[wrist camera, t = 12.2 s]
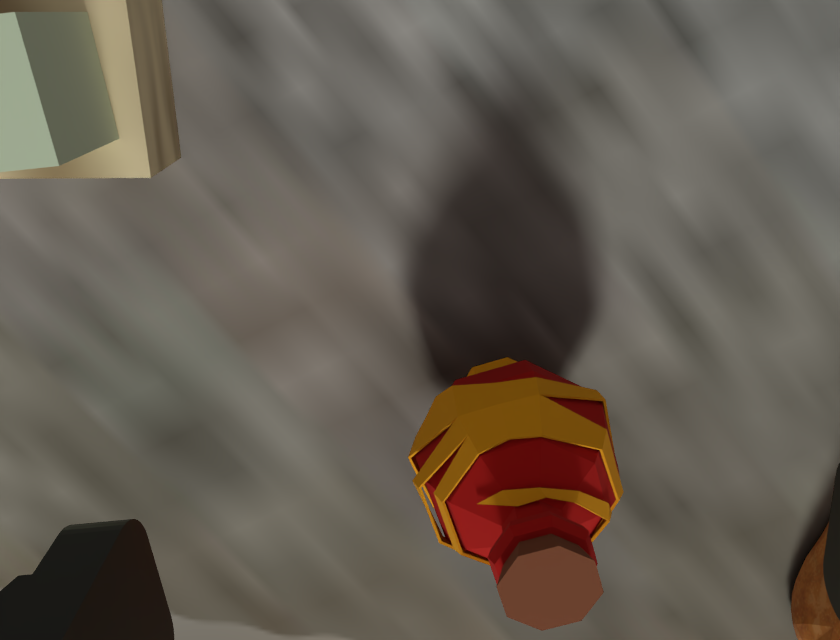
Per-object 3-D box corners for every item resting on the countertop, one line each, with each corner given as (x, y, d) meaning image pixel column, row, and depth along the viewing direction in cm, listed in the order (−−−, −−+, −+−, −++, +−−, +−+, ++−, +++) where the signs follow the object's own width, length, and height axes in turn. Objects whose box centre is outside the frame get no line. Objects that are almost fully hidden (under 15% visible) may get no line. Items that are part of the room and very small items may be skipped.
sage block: (87, 11, 30) (14, 11, 24) (119, 138, 31) (59, 165, 26) (-37, 25, 30) (-137, 28, 24) (3, 150, 32) (-82, 180, 26)
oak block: (160, -21, 34) (122, -26, 29) (182, 156, 37) (150, 177, 32) (-18, -21, 34) (-85, -26, 29) (19, 157, 37) (-36, 178, 32)
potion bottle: (605, 322, 40) (712, 484, 27) (573, 480, 44) (652, 693, 31) (415, 307, 40) (423, 466, 26) (399, 469, 44) (399, 681, 30)
